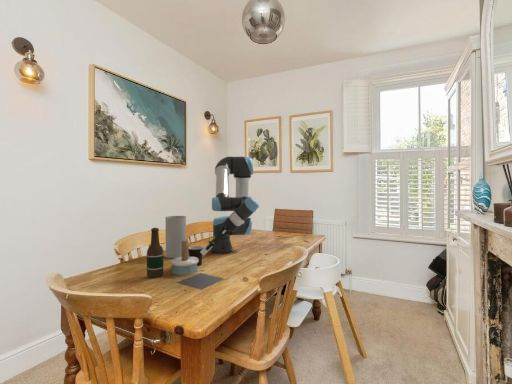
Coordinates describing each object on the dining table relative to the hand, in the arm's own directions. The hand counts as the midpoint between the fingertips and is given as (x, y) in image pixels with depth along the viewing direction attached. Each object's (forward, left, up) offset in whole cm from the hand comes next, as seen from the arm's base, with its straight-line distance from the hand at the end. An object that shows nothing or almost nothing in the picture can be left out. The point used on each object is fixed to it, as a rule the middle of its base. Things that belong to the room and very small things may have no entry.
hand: (205, 250), depth 142 cm
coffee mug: (-8, -13, -12) cm, 19 cm away
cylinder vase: (-14, -37, -12) cm, 41 cm away
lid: (+5, -9, -6) cm, 12 cm away
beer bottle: (+18, -16, -12) cm, 27 cm away
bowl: (+5, -9, -11) cm, 16 cm away
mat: (+11, +8, -11) cm, 18 cm away
